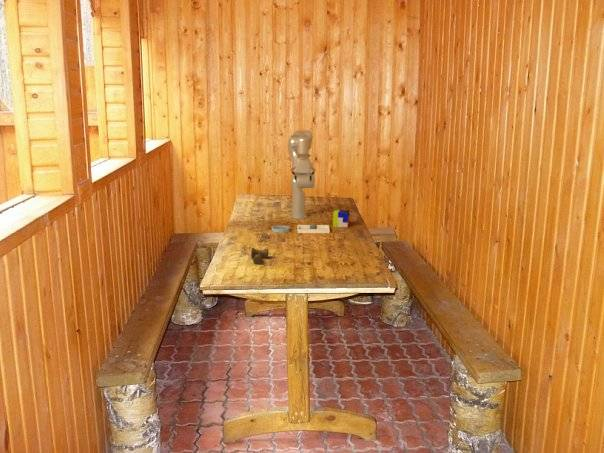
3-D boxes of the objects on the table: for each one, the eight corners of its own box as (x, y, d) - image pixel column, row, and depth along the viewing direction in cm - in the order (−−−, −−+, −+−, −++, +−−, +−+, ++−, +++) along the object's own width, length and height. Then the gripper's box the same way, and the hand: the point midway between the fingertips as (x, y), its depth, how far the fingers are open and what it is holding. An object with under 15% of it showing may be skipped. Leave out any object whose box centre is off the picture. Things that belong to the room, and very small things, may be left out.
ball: (309, 229, 400) (309, 222, 399) (316, 229, 400) (316, 222, 399) (309, 231, 396) (309, 224, 394) (317, 231, 396) (317, 224, 394)
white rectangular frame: (297, 228, 404) (297, 224, 404) (328, 228, 404) (328, 225, 404) (297, 233, 391) (297, 229, 391) (329, 233, 392) (329, 229, 391)
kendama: (248, 265, 320) (252, 254, 339) (266, 266, 320) (269, 255, 339) (248, 255, 318) (252, 244, 338) (266, 255, 318) (269, 245, 338)
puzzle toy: (347, 227, 409) (347, 213, 407) (333, 226, 411) (333, 212, 409) (349, 224, 419) (349, 210, 416) (335, 223, 420) (335, 209, 418)
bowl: (272, 228, 404) (272, 225, 403) (289, 228, 404) (289, 225, 403) (271, 232, 392) (271, 229, 391) (289, 232, 392) (289, 229, 392)
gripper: (315, 156, 403) (315, 180, 407) (290, 156, 404) (290, 180, 407) (315, 156, 396) (315, 182, 399) (290, 156, 396) (290, 182, 399)
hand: (303, 181), depth 403 cm, fingers open, 9 cm apart
